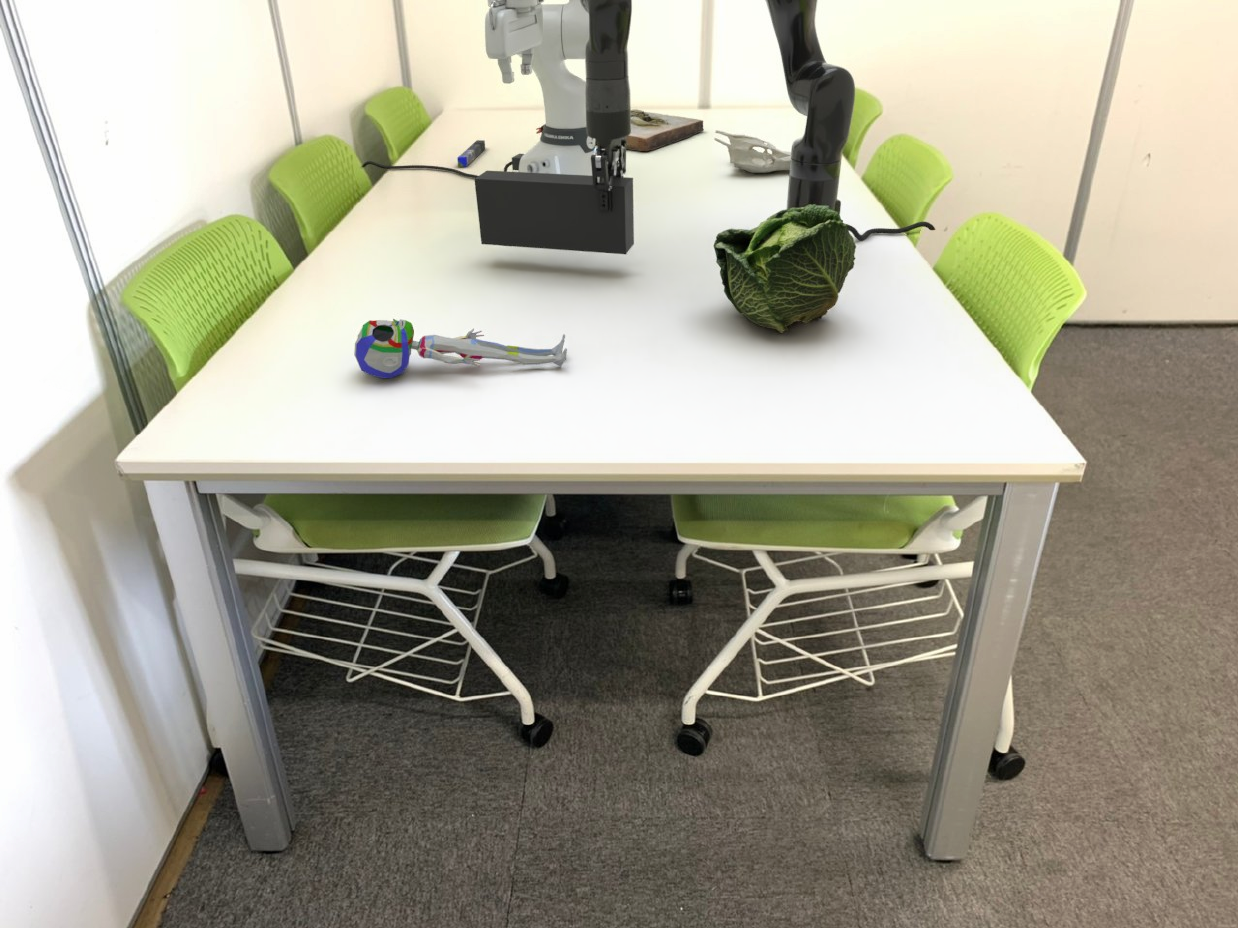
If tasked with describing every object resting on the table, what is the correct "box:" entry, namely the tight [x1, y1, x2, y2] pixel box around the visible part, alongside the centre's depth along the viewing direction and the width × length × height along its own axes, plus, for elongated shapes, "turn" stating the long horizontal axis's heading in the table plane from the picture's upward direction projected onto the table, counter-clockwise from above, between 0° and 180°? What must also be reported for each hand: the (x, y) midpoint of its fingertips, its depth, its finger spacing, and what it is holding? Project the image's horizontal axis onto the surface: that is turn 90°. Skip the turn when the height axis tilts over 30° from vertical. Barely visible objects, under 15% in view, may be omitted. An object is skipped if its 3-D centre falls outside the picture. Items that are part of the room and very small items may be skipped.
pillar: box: [456, 139, 486, 168], centre depth 239 cm, size 2×2×20 cm
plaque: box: [595, 108, 705, 152], centre depth 257 cm, size 30×7×30 cm
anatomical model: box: [714, 130, 791, 174], centre depth 222 cm, size 15×9×25 cm
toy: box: [353, 318, 568, 379], centre depth 130 cm, size 10×8×30 cm
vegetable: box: [713, 204, 857, 334], centre depth 140 cm, size 20×19×20 cm
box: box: [473, 170, 635, 255], centre depth 161 cm, size 28×6×12 cm, turn 75°
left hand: (517, 78), depth 167 cm, fingers open, 8 cm apart
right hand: (610, 206), depth 158 cm, fingers closed on box, 5 cm apart
